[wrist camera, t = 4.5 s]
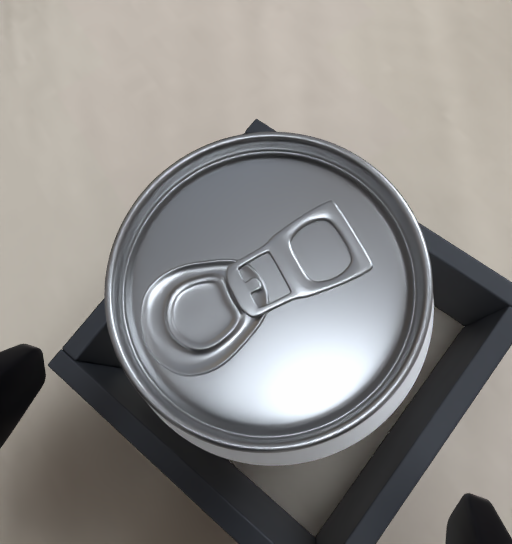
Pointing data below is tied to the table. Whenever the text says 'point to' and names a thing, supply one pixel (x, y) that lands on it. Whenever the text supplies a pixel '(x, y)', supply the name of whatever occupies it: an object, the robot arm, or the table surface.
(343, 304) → the can
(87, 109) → the table surface
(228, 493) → the bin
